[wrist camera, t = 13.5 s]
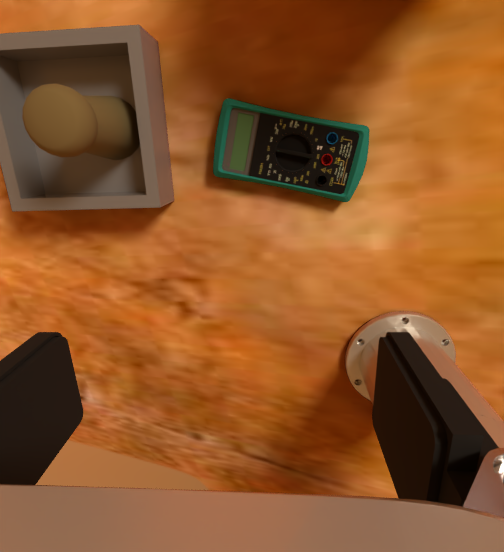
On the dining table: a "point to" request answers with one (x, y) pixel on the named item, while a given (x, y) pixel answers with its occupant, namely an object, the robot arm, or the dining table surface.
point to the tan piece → (80, 123)
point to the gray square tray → (88, 82)
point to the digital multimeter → (290, 150)
